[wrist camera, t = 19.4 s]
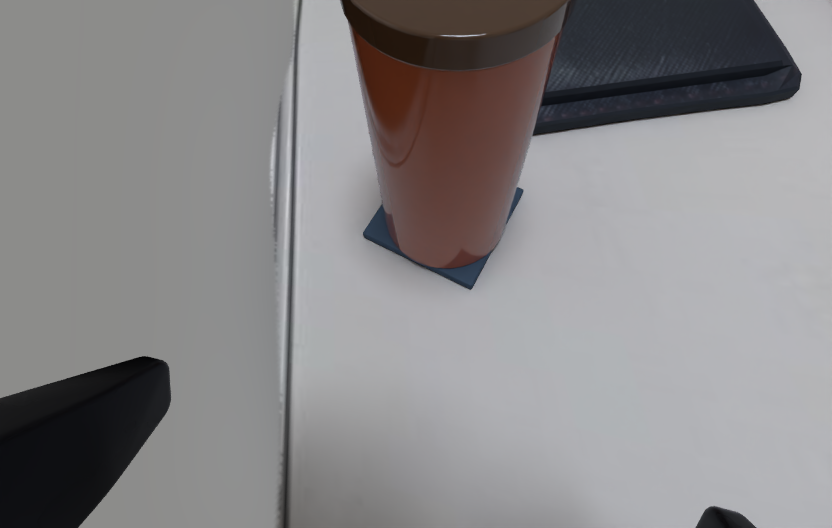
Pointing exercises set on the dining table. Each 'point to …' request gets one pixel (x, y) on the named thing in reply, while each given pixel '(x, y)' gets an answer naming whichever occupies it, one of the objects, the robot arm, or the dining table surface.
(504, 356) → the dining table surface
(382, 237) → the mat
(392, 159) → the spice jar
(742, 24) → the wallet
